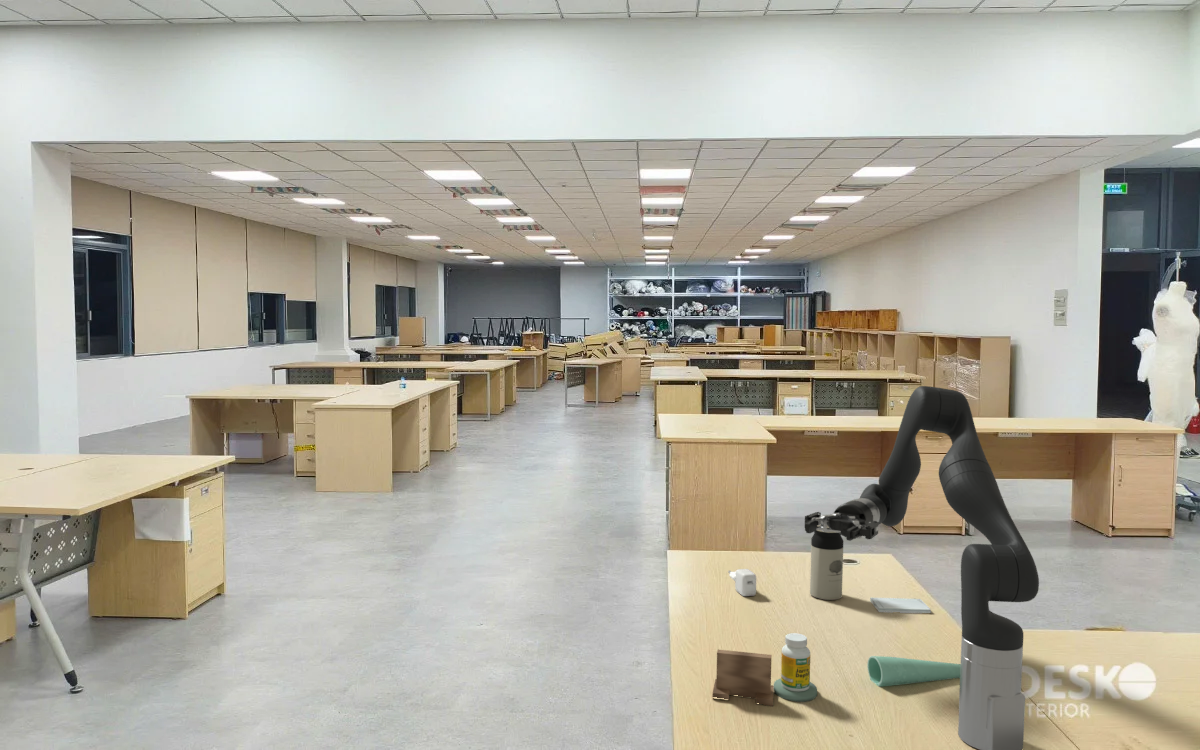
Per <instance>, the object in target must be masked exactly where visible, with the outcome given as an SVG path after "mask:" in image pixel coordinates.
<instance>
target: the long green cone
mask: <svg viewBox="0 0 1200 750" xmlns="http://www.w3.org/2000/svg"><path fill="white" fill-rule="evenodd" d="M960 666H961V663H952V662H942V661H932V660H925V659H916V658H915V659H914V658H908V657H907V658H905V657H898V656H897V657H895V656H884V655H883V656H882V655H870V656H869V657H868V659H867V672H868V677H869V680H870V681H871V682H872V683H873V684H875V685H876V686H877V687H879V688H880V687H891V686H899V685H907V684H916V683H925V682H935V681H944V680H951V679H952V680H953V678H955V679H960Z"/></svg>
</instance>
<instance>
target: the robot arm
mask: <svg viewBox="0 0 1200 750" xmlns="http://www.w3.org/2000/svg"><path fill="white" fill-rule="evenodd" d="M921 430H922V431H927V432H932V433H933V432H934V433H940V434H945V435H947V436H948V437H949V438H950V440H951V444H952V445H951V446H950V448H949V449H948V451H947V452H946V454H945V455H944V457H943V458H942V460H941V461H940V465H939V467H938V478H939V479H938V480H939V482H940V485H941V488H942V491H943V495H944V497H945V499H946V502H947V503H948V505H949V506H950V507H951V509H952V510H953V511H954V512H955V513H956V514H957V515H958V516H959V517H960V518H962V519H963V520H964V521H966V522H967V523H969V525H971V526H972V527H974V528H975V529H976V530H978V532H980V533H981V534H982V535H983V536H984V537H985V538H986V539H987V540H988V541H989V543H990V544H988V543H986V544H983V543H973V544H972V543H971V544H968V545H967V546H966V547H965V548H964V549H963V552H962V555H961V560H960V582H961V583H960V584H961V585H960V587H961V589H960V590H961V594H960V595H961V598H960V600H961V602H960V603H961V604H960V606H961V607H960V608H961V609H960V611H961V612H960V615H961V641H960V643H961V645H960V646H961V647H960V664H961V666H960V678H959V696H958V697H959V698H958V699H959V700H958V723H957V724H958V726H957V729H958V731H957V732H958V736H959V738H960V740H961V741H963V742H964V743H966V744H967V745H969V746H970V747H973V748H974V749H978V750H1022V749H1023V750H1024V732H1025V712H1026V711H1025V710H1026V709H1025V708H1026V707H1025V706H1026V696H1025V694H1024V693H1022V677H1023V676H1022V675H1023V655H1024V654H1023V653H1024V652H1023V651H1024V630H1023V627H1022V626H1021V625H1019V624H1018V623H1017V622H1016V621H1014V620H1011V619H1010V618H1007V617H1006V616H1002V615H1000V614H998V613H995V612H993V611H991V610H990V606H989V602H1001V603H1003V602H1004V603H1025V602H1030V601H1032V600H1034V599H1035V598H1036V597H1037V596H1038V593H1039V589H1040V588H1039V586H1040V578H1039V573H1038V569H1037V565H1036V562H1035V559H1034V558H1033V555H1032V553H1031V551H1030V549H1029V547H1028V544H1027V543H1026V542H1025V540H1024V538H1023V537H1022V535H1021V533H1020V531H1019V529H1018V528H1017V525H1016V524H1015V522H1014V520H1013V519H1012V516H1011V515H1010V513H1009V509H1008V508H1007V505H1006V504H1005V501H1004V499H1003V498H1004V497H1003V496H1002V493H1001V491H1000V489H999V484H998V482H997V480H996V477H995V475H994V473H993V470H992V468H991V466H990V464H989V462H988V459H987V457H986V455H985V451H984V449H983V448H982V445H981V441H980V439H979V436H978V433H977V429H976V425H975V422H974V417H973V413H972V410H971V407H970V404H969V402H968V399H967V397H966V396H965V395H964V393H962V392H960V391H958V390H955V389H950V388H942V387H936V386H927V385H921V386H918V387H917V388H915V389H914V390H913V392H911V394H910V396H909V399H908V400H907V404H906V407H905V410H904V413H903V416H902V419H901V422H900V425H899V428H898V432H897V435H896V439H895V442H894V445H893V449H892V451H891V453H890V456H889V458H888V460H887V461H886V463H885V466H884V467H883V469H882V471H881V473H880V475H879V477H878V483H871V484H869V485H868V486H866V487H865V488H864V490H863V491H862V492H861V494H860V496H859V498H854V499H852V500H850V501H847V502H844V503H843V504H840V505H839V506H838V507H837V508H835V510H834V511H833V513H832V514H831V513H830V514H822V513H821V512H820V511H816V512H813V513H810V514H807V515H804V531H805V533H806V534H812V533H814V531H816V530H821V531H823V532H836V533H840V534H841V537H842V536H843V537H844V538H845V539H846V541H849V542H851V541H853V540H855V539H862V538H863V537H865V538H864V539H866V540H872V539H874V538H875V537H876V536H877V535H878V534H879V525H881V524H883V525H884V526H886V527H895V526H897V525H899V524H900V523H901V522H902V521H903V520H904V518H905V515H906V513H907V508H908V500H909V496H910V495H909V494H910V490H911V489H912V487H913V485H914V484H915V482H916V480H917V478H918V477H919V475H920V472H921V467H922V462H921V461H922V460H921V457H920V456H921V455H920V452H919V448H918V446H917V439H916V438H917V435H918V433H919V432H920V431H921ZM820 524H821V525H820ZM817 525H820V526H819V527H817ZM826 526H828V527H829V528H826Z"/></svg>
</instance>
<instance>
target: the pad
mask: <svg viewBox="0 0 1200 750" xmlns="http://www.w3.org/2000/svg"><path fill="white" fill-rule="evenodd" d="M773 685H774V692H773V693H775V695H776V696H778V698H779V697H780V698H781V699H784V700H787V701H792V702H797V703H799V702H802V703H803V702H810V701H813V700H814V699H815V698H817V696H818V688H817V686H816V685H815V684H814V683H813V682H811V681H810V685H809V688H808V689H807V690H806V691H802V692H795V691H790V690H787V689H785V688H784V687H783V686H782V684H781V678H778V679H776V680H775V681H774V682H773Z"/></svg>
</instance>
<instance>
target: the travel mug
mask: <svg viewBox="0 0 1200 750" xmlns="http://www.w3.org/2000/svg"><path fill="white" fill-rule="evenodd" d="M820 525H821V524H820ZM820 525H817V527H819V526H820ZM826 528H829V527H828V526H826ZM810 544H811V545H810V576H809V577H810V579H809V595H811V596H812V597H814V598H815V599H818V600H819V599H820V600H824V601H836V600H839V599H841V598H842V597H843V577H844V576H843V569H844V539H843V537H842V535H841V534H840V533H836V532H823V531H821V530H816V531H814V532H813V535H812V537H811V541H810Z"/></svg>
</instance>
